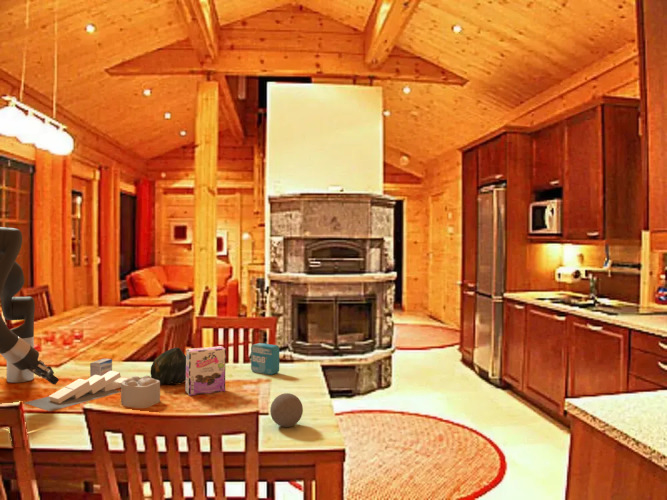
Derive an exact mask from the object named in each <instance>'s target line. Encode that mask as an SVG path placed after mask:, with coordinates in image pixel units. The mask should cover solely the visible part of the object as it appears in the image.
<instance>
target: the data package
mask: <svg viewBox="0 0 667 500" xmlns="http://www.w3.org/2000/svg"><path fill="white" fill-rule="evenodd" d="M250 349H251V351H250V354H251V355H250V361H251V362H250V370H251V372H253V373H257V374H263V375H268V376H273V375H274V374H275V375H276V374H278V373H279V371H280V347H279V345H277V344H269V343H264V342H263V343H262V342H259V343H254V344H252V345H251V347H250Z"/></svg>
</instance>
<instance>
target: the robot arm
mask: <svg viewBox="0 0 667 500" xmlns="http://www.w3.org/2000/svg"><path fill="white" fill-rule="evenodd" d="M22 245H23V234H22V232H21V230H20V229H18V228H14V227H3V226H0V305H1V310H2V315H3V317H4V319H5V320H8V321H24V322H23V323H22V324H21V325H19V326H17V327H13V328H11V329H10V328H9V327H8V326H7V324H6V322H5V320H4V319H3V317H2V316H1V315H0V355H1V356H2V357H3V359H5V361H6V382H8V383H12V384H13V383H17V384H18V383H26V382H30V381H32V380H33V379H34V378H35V377H34V376H35V375H36V376H38V377H41V379H45V380H46V381H47V382H49V383H50V384H51V385H57V383H59V381H60V379H59V378H58V377H57V376H56V375H55V372H54V369H52V367H51V365H48V366H47V365H46V363H45V362H44V361H43V360H41V359H40V360H39V357H40V353H39V351H38V350H37V349H36V348H35V343H34V342H35V337H34V336H35V330H34V329H35V328H34V327H35V322H34V321H35V313H36V312H35V308H36V307H35V304H36V303H35V299H34V297H32V296H16V295H17V294H18V293H19V292H20V291H21V290H22V288H23V286H24V285H25V282H26V281H25V280H26V279H25V276H24V271H23V268H22V267H21V265H20V264H19V263H18V262H17V261H16V260H17V258H18V256H19V254H20V251H21V249H22Z"/></svg>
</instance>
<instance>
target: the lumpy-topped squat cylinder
mask: <svg viewBox="0 0 667 500" xmlns="http://www.w3.org/2000/svg"><path fill="white" fill-rule="evenodd" d="M120 391H121V392H120V403H121V405H122V406H124V407H126V408H133V409H146V408H150V407H152V406H154V405H156V404H159V403H160V402H161V384H160V381H159V380H155V379H153V378H151V375H148V374H147V375H146V374H145V375H143V376H142V377H140V376H138V375H134V376H132V377H129V378H128V379H127V380H124V381H122V382H121V387H120Z"/></svg>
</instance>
